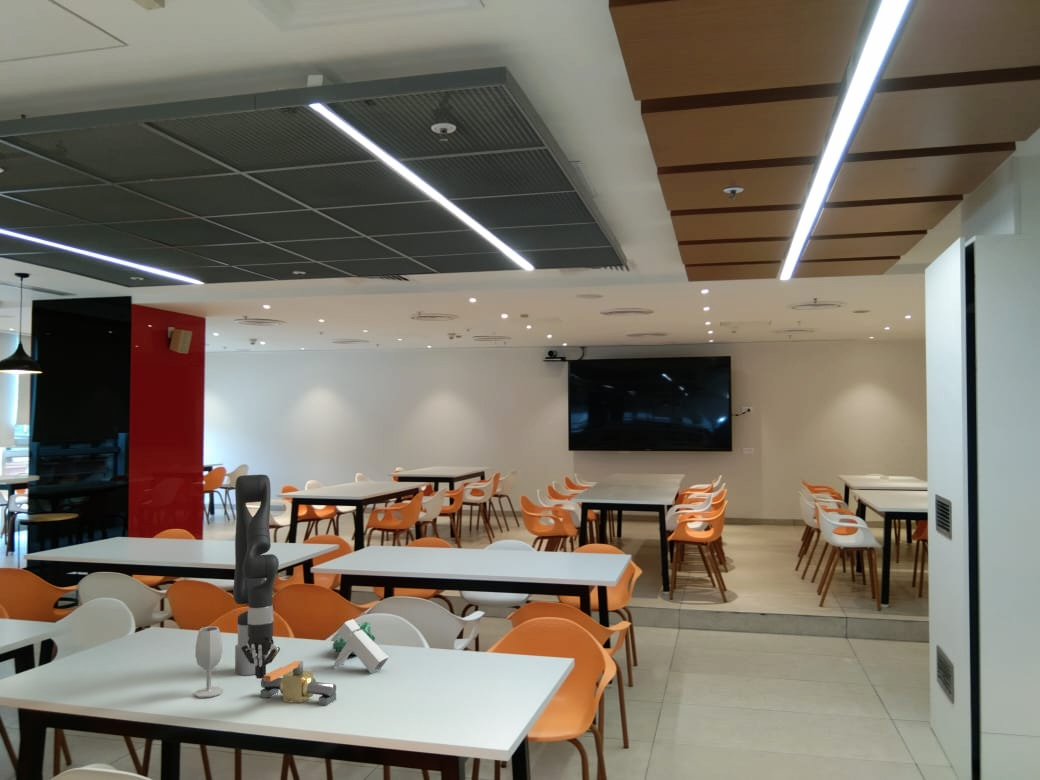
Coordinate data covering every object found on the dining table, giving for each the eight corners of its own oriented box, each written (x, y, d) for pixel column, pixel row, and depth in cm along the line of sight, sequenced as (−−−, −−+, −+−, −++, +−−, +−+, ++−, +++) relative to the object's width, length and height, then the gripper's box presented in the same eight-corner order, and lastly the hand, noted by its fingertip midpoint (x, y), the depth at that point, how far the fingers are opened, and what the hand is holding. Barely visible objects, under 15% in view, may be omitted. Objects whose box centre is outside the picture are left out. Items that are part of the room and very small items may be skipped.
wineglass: (195, 700, 238) (195, 633, 239) (193, 692, 246) (193, 627, 247) (224, 695, 242) (224, 629, 243) (221, 687, 250) (221, 623, 251)
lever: (296, 670, 241) (296, 658, 241) (305, 671, 240) (305, 659, 240) (262, 687, 225) (262, 675, 225) (271, 688, 224) (271, 676, 224)
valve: (258, 697, 240) (258, 672, 240) (270, 691, 246) (270, 666, 246) (327, 706, 231) (327, 680, 232) (338, 699, 237) (338, 674, 237)
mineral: (337, 646, 296) (337, 621, 296) (377, 644, 297) (377, 619, 298) (330, 660, 277) (330, 633, 278) (373, 658, 279) (373, 631, 279)
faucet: (379, 661, 260) (343, 620, 267) (355, 694, 263) (320, 653, 271) (389, 656, 266) (353, 616, 273) (366, 688, 269) (331, 648, 276)
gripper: (234, 622, 229) (234, 679, 228) (271, 624, 225) (271, 683, 224) (250, 616, 236) (250, 672, 235) (286, 618, 232) (286, 675, 231)
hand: (260, 677), depth 229 cm, fingers closed
